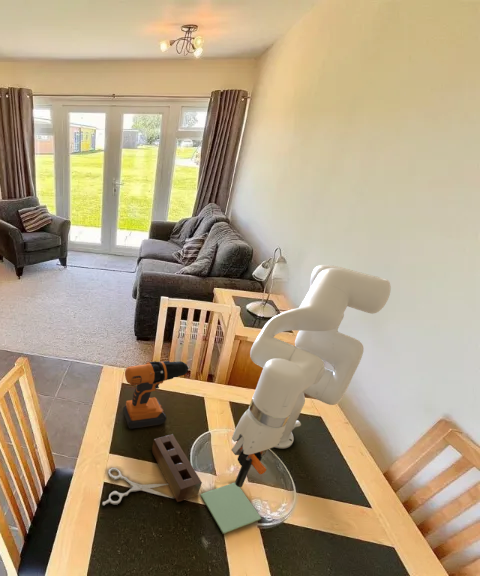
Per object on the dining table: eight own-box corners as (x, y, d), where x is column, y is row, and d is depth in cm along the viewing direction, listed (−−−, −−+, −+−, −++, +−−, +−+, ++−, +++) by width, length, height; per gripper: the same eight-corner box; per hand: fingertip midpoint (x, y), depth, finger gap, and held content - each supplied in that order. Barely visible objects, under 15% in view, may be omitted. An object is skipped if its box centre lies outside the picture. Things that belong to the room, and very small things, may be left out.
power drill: (173, 405, 117) (185, 352, 105) (182, 422, 110) (195, 367, 99) (117, 413, 113) (123, 358, 101) (123, 430, 106) (129, 374, 95)
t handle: (231, 468, 85) (243, 438, 79) (253, 498, 78) (267, 467, 72) (225, 470, 84) (236, 440, 79) (246, 500, 77) (260, 469, 72)
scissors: (103, 466, 94) (170, 472, 93) (103, 468, 94) (170, 473, 94) (102, 504, 85) (177, 510, 84) (102, 505, 85) (176, 512, 84)
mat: (235, 483, 92) (236, 481, 92) (260, 519, 83) (261, 518, 83) (200, 495, 88) (200, 493, 88) (223, 534, 80) (223, 533, 80)
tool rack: (170, 446, 102) (172, 433, 99) (197, 495, 88) (202, 482, 86) (151, 451, 100) (153, 439, 97) (177, 502, 87) (180, 489, 84)
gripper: (283, 391, 74) (261, 442, 83) (227, 405, 70) (210, 458, 78) (311, 416, 68) (284, 469, 76) (251, 433, 63) (230, 487, 72)
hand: (247, 463), depth 77 cm, fingers closed on t handle, 2 cm apart
